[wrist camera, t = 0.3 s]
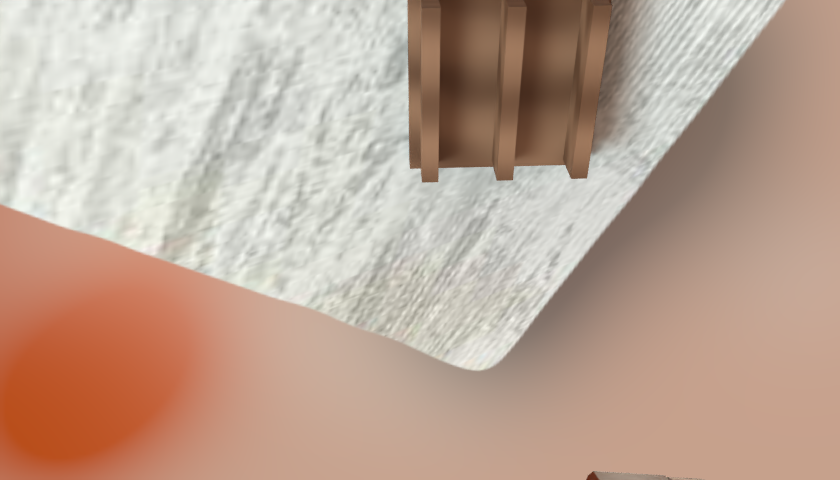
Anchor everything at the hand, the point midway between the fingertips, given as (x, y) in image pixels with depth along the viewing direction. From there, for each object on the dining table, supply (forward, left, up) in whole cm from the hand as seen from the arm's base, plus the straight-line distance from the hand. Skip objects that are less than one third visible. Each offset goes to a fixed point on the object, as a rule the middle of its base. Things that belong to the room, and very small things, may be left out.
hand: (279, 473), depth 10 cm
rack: (+14, +10, -46) cm, 49 cm away
